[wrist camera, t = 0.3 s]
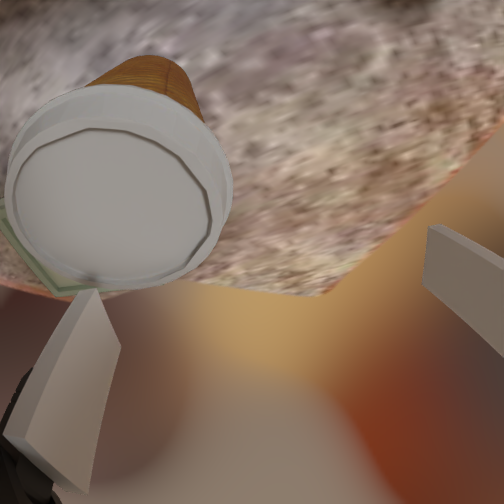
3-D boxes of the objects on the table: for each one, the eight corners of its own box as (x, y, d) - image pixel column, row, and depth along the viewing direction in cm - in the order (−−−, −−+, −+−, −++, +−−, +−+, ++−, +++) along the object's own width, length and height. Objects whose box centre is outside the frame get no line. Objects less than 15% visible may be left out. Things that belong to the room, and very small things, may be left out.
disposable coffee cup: (134, 175, 22) (111, 313, 15) (55, 90, 15) (-37, 210, 8) (241, 115, 20) (278, 245, 12) (170, 4, 13) (126, 32, 5)
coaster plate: (-4, 200, 20) (-11, 213, 19) (123, 164, 21) (118, 178, 20) (58, 284, 31) (55, 297, 30) (164, 270, 32) (164, 284, 31)
